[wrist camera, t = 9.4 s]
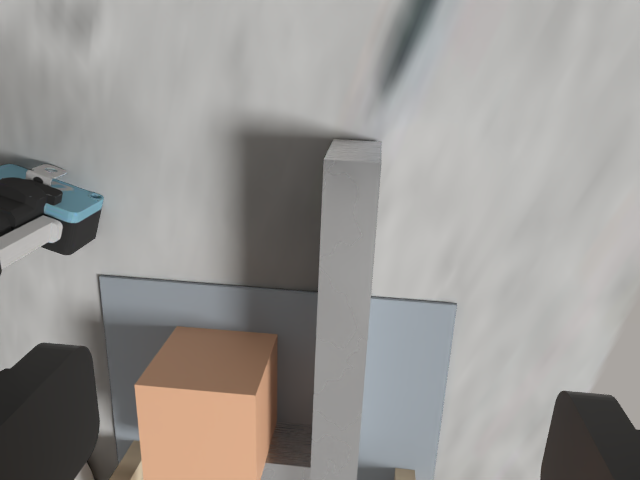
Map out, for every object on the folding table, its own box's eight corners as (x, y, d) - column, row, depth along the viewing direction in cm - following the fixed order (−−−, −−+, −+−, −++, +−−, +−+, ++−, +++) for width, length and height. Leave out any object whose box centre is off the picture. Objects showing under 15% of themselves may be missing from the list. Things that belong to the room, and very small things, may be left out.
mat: (101, 275, 27) (99, 276, 27) (456, 303, 26) (456, 305, 25) (131, 578, 34) (130, 581, 34) (414, 614, 32) (414, 617, 32)
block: (176, 326, 27) (134, 384, 23) (277, 334, 27) (255, 395, 22) (182, 411, 29) (143, 482, 24) (276, 420, 29) (256, 494, 24)
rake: (150, 128, 24) (102, 145, 20) (381, 141, 23) (381, 163, 19) (169, 432, 30) (134, 495, 25) (357, 452, 29) (353, 521, 25)
